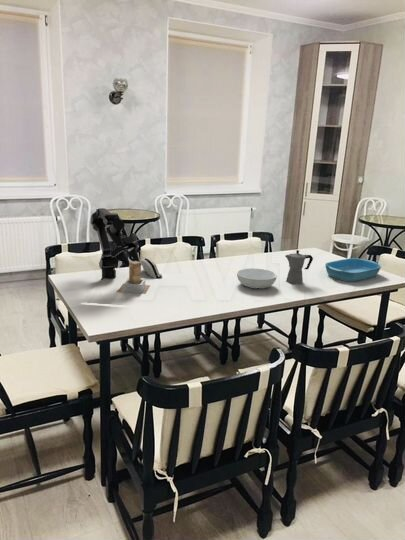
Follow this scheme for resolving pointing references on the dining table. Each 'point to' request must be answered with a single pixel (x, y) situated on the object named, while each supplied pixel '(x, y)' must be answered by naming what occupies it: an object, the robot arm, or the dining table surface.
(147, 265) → the grey napkin holder
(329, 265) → the casserole dish
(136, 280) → the oak block
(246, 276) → the serving bowl
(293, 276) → the coffeepot
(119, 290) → the walnut board
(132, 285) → the steel end cap
